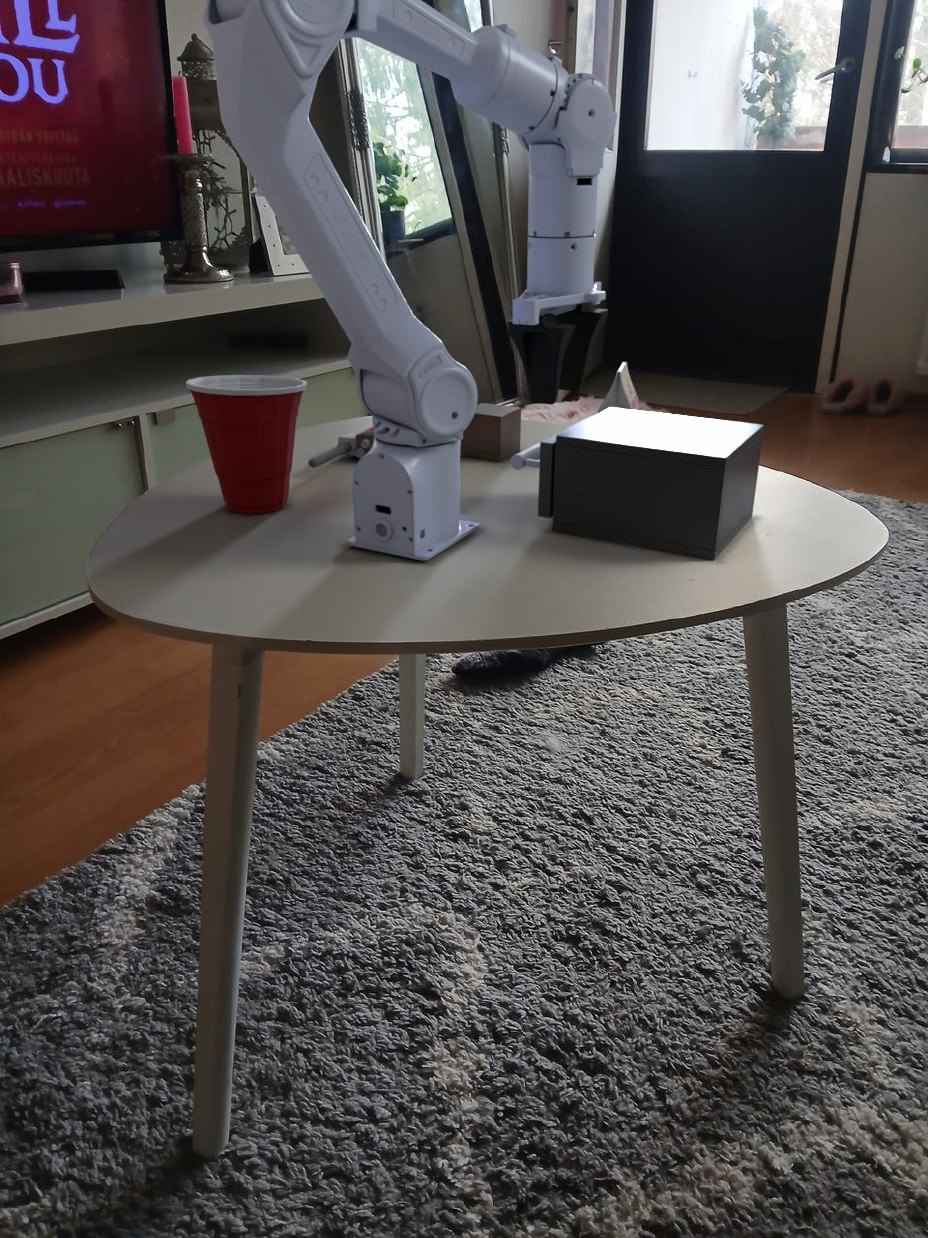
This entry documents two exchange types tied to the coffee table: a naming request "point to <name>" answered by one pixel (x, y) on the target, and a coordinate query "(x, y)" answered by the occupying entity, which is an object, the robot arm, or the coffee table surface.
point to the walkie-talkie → (347, 446)
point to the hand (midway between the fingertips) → (556, 396)
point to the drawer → (542, 469)
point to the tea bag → (621, 392)
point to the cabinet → (656, 480)
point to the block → (492, 433)
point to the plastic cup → (250, 436)
